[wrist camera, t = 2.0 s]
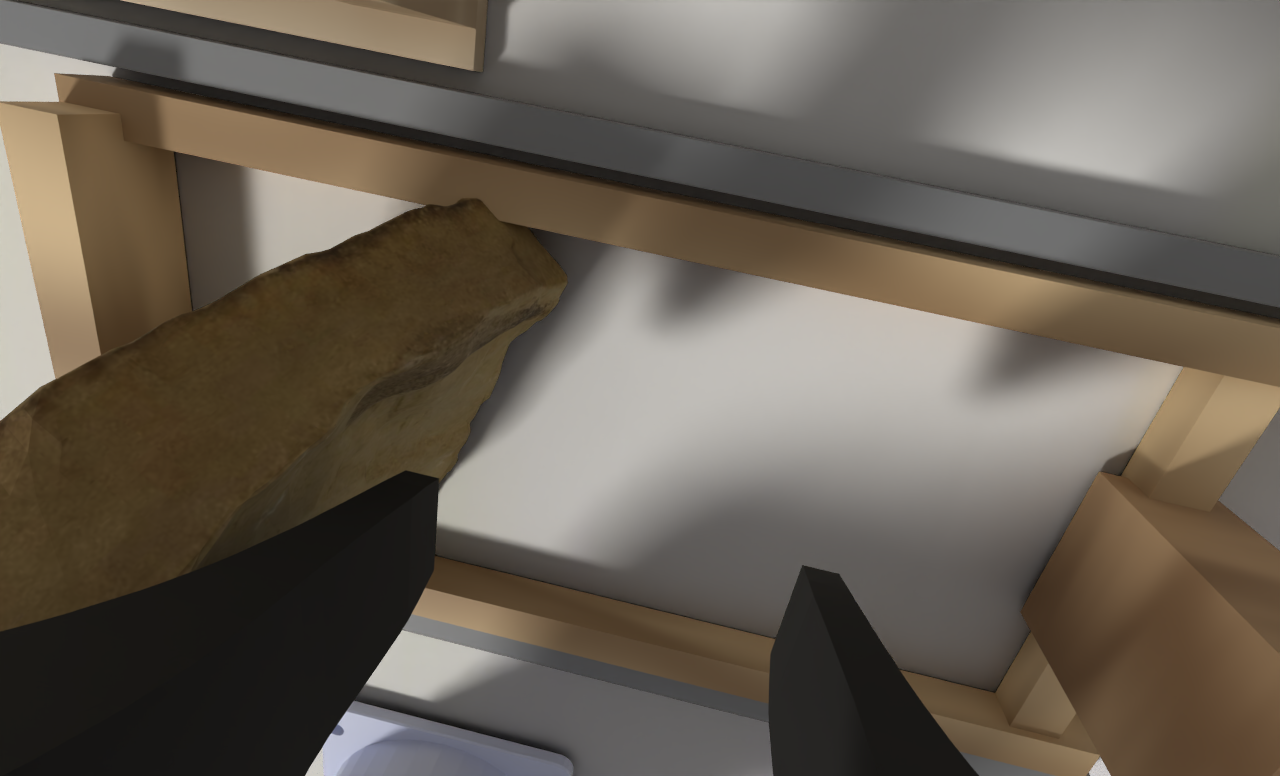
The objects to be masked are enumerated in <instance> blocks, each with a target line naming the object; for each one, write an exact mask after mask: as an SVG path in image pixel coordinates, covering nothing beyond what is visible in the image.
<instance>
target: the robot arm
mask: <svg viewBox="0 0 1280 776" xmlns="http://www.w3.org/2000/svg"><path fill="white" fill-rule="evenodd" d="M438 490H439V478H436V477H432V476H427V475H423V474H419V473H415V472H411V471H407V470H405V471H403V472H401V473H399V474H397V475H395V476H393V477H391V478H389V479H387V480H385V481H383V482H381V483H379V484H377V485H375V486H373V487H372V488H370V489H368V490H366V491H364V492H362V493H360V494H358V495H356V496H354V497H353V498H351V499H349V500H347V501H345V502H343V503H341V504H339V505H337V506H335V507H333V508H331V509H329V510H327V511H325V512H323V513H321V514H319V515H317V516H315V517H314V518H312V519H310V520H308V521H306V522H304V523H302V524H300V525H298V526H295V527H293V528H291V529H289V530H287V531H285V532H282V533H280V534H278V535H276V536H274V537H271V538H269V539H267V540H265V541H263V542H261V543H258V544H256V545H254V546H252V547H250V548H247V549H245V550H243V551H241V552H239V553H237V554H234V555H232V556H229V557H227V558H225V559H222V560H220V561H218V562H215V563H213V564H210V565H208V566H205V567H203V568H200V569H198V570H195V571H192V572H189V573H187V574H184V575H181V576H179V577H176V578H173V579H171V580H168V581H165V582H163V583H160V584H157V585H154V586H151V587H148V588H146V589H143V590H140V591H137V592H133V593H130V594H127V595H124V596H121V597H117V598H114V599H111V600H108V601H105V602H101V603H98V604H95V605H92V606H89V607H85V608H82V609H79V610H76V611H73V612H69V613H66V614H63V615H60V616H56V617H52V618H49V619H45V620H42V621H38V622H34V623H30V624H27V625H23V626H19V627H15V628H12V629H8V630H4V631H0V776H305V775H306V773H307V771H308V769H309V767H310V766H311V764H312V763H313V761H314V759H315V758H316V756H317V755H318V753H319V752H320V750H321V748H322V747H323V769H324V776H572V774H573V764H572V763H571V761H570V760H569V759H568V758H567V757H565V756H563V755H561V754H557V753H553V752H550V751H546V750H542V749H538V748H534V747H530V746H526V745H523V744H519V743H515V742H511V741H507V740H503V739H499V738H496V737H492V736H488V735H484V734H480V733H476V732H473V731H469V730H465V729H461V728H457V727H453V726H449V725H446V724H442V723H438V722H434V721H430V720H426V719H423V718H419V717H415V716H411V715H407V714H403V713H399V712H396V711H392V710H388V709H384V708H380V707H376V706H373V705H369V704H365V703H361V702H357V701H354V700H355V698H356V697H357V695H358V694H359V692H360V691H361V689H362V688H363V686H364V685H365V684H366V682H367V681H368V679H369V678H370V676H371V675H372V673H373V672H374V670H375V669H376V668H377V666H378V665H379V663H380V662H381V660H382V659H383V657H384V656H385V654H386V653H387V651H388V650H389V648H390V647H391V646H392V644H393V643H394V641H395V640H396V638H397V637H398V635H399V634H400V632H401V631H402V629H403V628H404V626H405V625H406V623H407V622H408V620H409V618H410V616H411V614H412V612H413V610H414V609H415V607H416V605H417V603H418V601H419V599H420V597H421V595H422V593H423V591H424V589H425V587H426V585H427V583H428V581H429V579H430V577H431V575H432V573H433V571H434V562H435V544H436V526H437V508H438ZM768 715H769V729H770V741H771V754H772V766H773V776H979V775H978V774H977V772H976V771H975V770H974V769H973V768H972V767H971V765H970V764H969V763H968V762H967V760H966V759H965V758H964V757H963V755H962V754H961V753H960V752H959V750H958V749H957V748H956V747H955V745H954V744H953V743H952V742H951V740H950V739H949V738H948V736H947V735H946V734H945V732H944V731H943V730H942V728H941V727H940V726H939V724H938V723H937V722H936V720H935V719H934V718H933V716H932V715H931V714H930V712H929V711H928V710H927V708H926V707H925V706H924V704H923V703H922V701H921V700H920V699H919V697H918V696H917V694H916V693H915V691H914V690H913V689H912V687H911V686H910V684H909V683H908V681H907V680H906V679H905V677H904V676H903V674H902V673H901V671H900V670H899V668H898V667H897V665H896V664H895V662H894V661H893V659H892V658H891V656H890V655H889V653H888V652H887V650H886V649H885V647H884V645H883V644H882V642H881V641H880V639H879V638H878V636H877V634H876V633H875V631H874V630H873V628H872V627H871V625H870V623H869V622H868V620H867V619H866V617H865V615H864V614H863V612H862V610H861V609H860V607H859V606H858V604H857V602H856V601H855V599H854V598H853V596H852V594H851V593H850V591H849V589H848V588H847V586H846V585H845V583H844V581H843V580H842V578H841V577H840V575H839V574H837V573H833V572H829V571H824V570H820V569H816V568H812V567H808V566H804V565H802V568H801V571H800V573H799V576H798V579H797V582H796V584H795V587H794V590H793V593H792V595H791V598H790V601H789V604H788V606H787V609H786V612H785V615H784V617H783V620H782V623H781V626H780V628H779V631H778V634H777V637H776V639H775V642H774V645H773V648H772V650H771V653H770V673H769V705H768Z"/></svg>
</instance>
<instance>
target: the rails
mask: <svg viewBox="0 0 1280 776" xmlns="http://www.w3.org/2000/svg"><path fill="white" fill-rule="evenodd" d="M0 43H1V44H6V45H11V46H16V47H21V48H26V49H30V50H35V51H40V52H45V53H50V54H55V55H59V56H64V57H69V58H74V59H79V60H84V61H88V62H93V63H98V64H103V65H108V66H113V67H118V68H122V69H127V70H132V71H137V72H142V73H147V74H151V75H156V76H161V77H166V78H171V79H176V80H180V81H185V82H190V83H195V84H200V85H205V86H210V87H214V88H219V89H224V90H229V91H234V92H239V93H243V94H248V95H253V96H258V97H263V98H268V99H272V100H277V101H282V102H287V103H292V104H297V105H301V106H306V107H311V108H316V109H321V110H326V111H331V112H335V113H340V114H345V115H350V116H355V117H360V118H364V119H369V120H374V121H379V122H384V123H389V124H393V125H398V126H403V127H408V128H413V129H418V130H423V131H427V132H432V133H437V134H442V135H447V136H452V137H456V138H461V139H466V140H471V141H476V142H481V143H485V144H490V145H495V146H500V147H505V148H510V149H515V150H519V151H524V152H529V153H534V154H539V155H544V156H548V157H553V158H558V159H563V160H568V161H573V162H577V163H582V164H587V165H592V166H597V167H602V168H606V169H611V170H616V171H621V172H626V173H631V174H636V175H640V176H645V177H650V178H655V179H660V180H665V181H669V182H674V183H679V184H684V185H689V186H694V187H698V188H703V189H708V190H713V191H718V192H723V193H728V194H732V195H737V196H742V197H747V198H752V199H757V200H761V201H766V202H771V203H776V204H781V205H786V206H790V207H795V208H800V209H805V210H810V211H815V212H819V213H824V214H829V215H834V216H839V217H844V218H849V219H853V220H858V221H863V222H868V223H873V224H878V225H882V226H887V227H892V228H897V229H902V230H907V231H911V232H916V233H921V234H926V235H931V236H936V237H941V238H945V239H950V240H955V241H960V242H965V243H970V244H974V245H979V246H984V247H989V248H994V249H999V250H1003V251H1008V252H1013V253H1018V254H1023V255H1028V256H1032V257H1037V258H1042V259H1047V260H1052V261H1057V262H1062V263H1066V264H1071V265H1076V266H1081V267H1086V268H1091V269H1095V270H1100V271H1105V272H1110V273H1115V274H1120V275H1124V276H1129V277H1134V278H1139V279H1144V280H1149V281H1154V282H1158V283H1163V284H1168V285H1173V286H1178V287H1183V288H1187V289H1192V290H1197V291H1202V292H1207V293H1212V294H1216V295H1221V296H1226V297H1231V298H1236V299H1241V300H1245V301H1250V302H1255V303H1260V304H1265V305H1270V306H1275V307H1279V308H1280V256H1278V255H1273V254H1268V253H1263V252H1258V251H1253V250H1248V249H1243V248H1238V247H1233V246H1229V245H1224V244H1219V243H1214V242H1209V241H1204V240H1199V239H1194V238H1189V237H1184V236H1179V235H1174V234H1169V233H1164V232H1159V231H1154V230H1149V229H1144V228H1140V227H1135V226H1130V225H1125V224H1120V223H1115V222H1110V221H1105V220H1100V219H1095V218H1090V217H1085V216H1080V215H1075V214H1070V213H1065V212H1060V211H1055V210H1050V209H1046V208H1041V207H1036V206H1031V205H1026V204H1021V203H1016V202H1011V201H1006V200H1001V199H996V198H991V197H986V196H981V195H976V194H971V193H966V192H961V191H957V190H952V189H947V188H942V187H937V186H932V185H927V184H922V183H917V182H912V181H907V180H902V179H897V178H892V177H887V176H882V175H877V174H872V173H868V172H863V171H858V170H853V169H848V168H843V167H838V166H833V165H828V164H823V163H818V162H813V161H808V160H803V159H798V158H793V157H788V156H783V155H779V154H774V153H769V152H764V151H759V150H754V149H749V148H744V147H739V146H734V145H729V144H724V143H719V142H714V141H709V140H704V139H699V138H694V137H689V136H685V135H680V134H675V133H670V132H665V131H660V130H655V129H650V128H645V127H640V126H635V125H630V124H625V123H620V122H615V121H610V120H605V119H600V118H596V117H591V116H586V115H581V114H576V113H571V112H566V111H561V110H556V109H551V108H546V107H541V106H536V105H531V104H526V103H521V102H516V101H511V100H507V99H502V98H497V97H492V96H487V95H482V94H477V93H472V92H467V91H462V90H457V89H452V88H447V87H442V86H437V85H432V84H427V83H422V82H418V81H413V80H408V79H403V78H398V77H393V76H388V75H383V74H378V73H373V72H368V71H363V70H358V69H353V68H348V67H343V66H338V65H333V64H328V63H324V62H319V61H314V60H309V59H304V58H299V57H294V56H289V55H284V54H279V53H274V52H269V51H264V50H259V49H254V48H249V47H244V46H239V45H235V44H230V43H225V42H220V41H215V40H210V39H205V38H200V37H195V36H190V35H185V34H180V33H175V32H170V31H165V30H160V29H155V28H150V27H146V26H141V25H136V24H131V23H126V22H121V21H116V20H111V19H106V18H101V17H96V16H91V15H86V14H81V13H76V12H71V11H66V10H61V9H57V8H52V7H47V6H42V5H37V4H32V3H27V2H22V1H17V0H0ZM402 630H404V631H408V632H412V633H416V634H420V635H424V636H428V637H432V638H436V639H440V640H444V641H448V642H452V643H456V644H459V645H463V646H467V647H471V648H475V649H479V650H483V651H487V652H491V653H495V654H499V655H503V656H507V657H511V658H515V659H519V660H523V661H527V662H531V663H535V664H539V665H543V666H547V667H551V668H555V669H559V670H563V671H566V672H570V673H574V674H578V675H582V676H586V677H590V678H594V679H598V680H602V681H606V682H610V683H614V684H618V685H622V686H626V687H630V688H634V689H638V690H642V691H646V692H650V693H654V694H658V695H662V696H666V697H670V698H673V699H677V700H681V701H685V702H689V703H693V704H697V705H701V706H705V707H709V708H713V709H717V710H721V711H725V712H729V713H733V714H737V715H741V716H745V717H749V718H753V719H757V720H761V721H765V722H769V715H768V705H769V704H768V703H764V702H760V701H756V700H752V699H748V698H744V697H740V696H736V695H732V694H728V693H724V692H720V691H716V690H712V689H708V688H704V687H700V686H696V685H692V684H688V683H684V682H680V681H676V680H672V679H668V678H664V677H660V676H656V675H652V674H648V673H644V672H640V671H636V670H632V669H628V668H624V667H620V666H616V665H612V664H608V663H604V662H600V661H596V660H592V659H588V658H584V657H580V656H576V655H573V654H569V653H565V652H561V651H557V650H553V649H549V648H545V647H541V646H537V645H533V644H529V643H525V642H521V641H517V640H513V639H509V638H505V637H501V636H497V635H493V634H489V633H485V632H481V631H477V630H473V629H469V628H465V627H461V626H457V625H453V624H449V623H445V622H441V621H437V620H433V619H429V618H425V617H421V616H417V615H413V614H411V616H410V618H409V620H408V622H407V623H406V625H405V626H404V628H403V629H402ZM960 753H961V754H962V755H963V757H964V758H965V759H966V760H967V762H968V763H969V764H970V765H971V767H972V768H973V769H974V770H975V771H976V772H977V774H978V775H979V776H1055V775H1051V774H1047V773H1043V772H1039V771H1035V770H1031V769H1027V768H1023V767H1019V766H1015V765H1011V764H1007V763H1003V762H999V761H995V760H991V759H987V758H983V757H979V756H975V755H971V754H967V753H963V752H960ZM1086 776H1090V775H1089V773H1088V774H1087V775H1086Z"/></svg>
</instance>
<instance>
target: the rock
mask: <svg viewBox="0 0 1280 776" xmlns="http://www.w3.org/2000/svg"><path fill="white" fill-rule="evenodd" d="M567 283H568V280H567V275H566V274H565V272H564V271H563V270H562V268H561V267H560V265H559V264H558V263H557V262H556V261H555V260H554V259H553V258H552V256H551V255H550V254H549V253H548V252H547V251H546V249H545V248H544V247H543V246H542V245H541V244H540V243H539V242H538V240H537V239H536V238H535V236H534V235H533V233H532V232H531V231H530V229H529V228H528V227H526V226H522V225H517V224H512V223H508V222H503V221H499V220H498V219H497V218H496V217H495V216H494V214H493V213H492V212H491V211H490V210H489V209H488V208H487V206H486V205H485V204H484V203H483V201H481V200H480V199H478V198H461V199H460V200H458V201H457V202H456V203H455V204H453V205H449V206H441V205H434V204H428V205H426V206H425V207H423V208H418V209H413V210H410V211H407V212H405V213H403V214H401V215H399V216H397V217H395V218H393V219H391V220H389V221H387V222H385V223H383V224H381V225H379V226H377V227H375V228H373V229H372V230H370V231H367V232H364V233H361V234H358V235H355V236H353V237H351V238H349V239H347V240H346V241H344V242H342V243H340V244H338V245H337V246H335V247H333V248H331V249H329V250H325V251H322V252H316V253H310V254H305V255H303V256H301V257H298V258H296V259H294V260H292V261H289V262H287V263H285V264H283V265H281V266H278V267H276V268H274V269H271V270H269V271H267V272H264V273H262V274H260V275H259V276H257V277H255V278H253V279H252V280H250V281H248V282H247V283H245V284H244V285H242V286H240V287H239V288H237V289H235V290H234V291H232V292H230V293H228V294H227V295H225V296H224V297H222V298H221V299H219V300H217V301H215V302H213V303H211V304H208V305H206V306H204V307H202V308H200V309H197V310H194V311H192V312H188V313H184V314H181V315H178V316H176V317H174V318H172V319H170V320H168V321H165V322H164V323H162V324H160V325H159V326H157V327H156V328H154V329H152V330H151V331H149V332H147V333H146V334H144V335H142V336H141V337H139V338H137V339H136V340H134V341H132V342H130V343H127V344H125V345H122V346H119V347H116V348H114V349H111V350H109V351H108V352H106V353H104V354H102V355H100V356H98V357H96V358H94V359H92V360H91V361H89V362H87V363H85V364H83V365H81V366H79V367H78V368H76V369H74V370H72V371H70V372H68V373H66V374H64V375H63V376H61V377H59V378H57V379H55V380H53V381H51V382H49V383H47V384H45V385H44V386H42V387H40V388H39V389H38V390H36V391H35V392H34V393H33V394H32V395H30V396H29V397H28V398H27V399H26V400H25V401H23V402H22V403H21V404H20V405H19V406H18V407H16V408H15V409H14V410H13V411H12V412H10V413H9V414H8V415H7V416H6V417H5V418H3V419H2V420H1V421H0V631H4V630H8V629H12V628H15V627H19V626H23V625H27V624H30V623H34V622H38V621H42V620H45V619H49V618H52V617H56V616H60V615H63V614H66V613H69V612H73V611H76V610H79V609H82V608H85V607H89V606H92V605H95V604H98V603H101V602H105V601H108V600H111V599H114V598H117V597H121V596H124V595H127V594H130V593H133V592H137V591H140V590H143V589H146V588H148V587H151V586H154V585H157V584H160V583H163V582H165V581H168V580H171V579H173V578H176V577H179V576H181V575H184V574H187V573H189V572H192V571H195V570H198V569H200V568H203V567H205V566H208V565H210V564H213V563H215V562H218V561H220V560H222V559H225V558H227V557H229V556H232V555H234V554H237V553H239V552H241V551H243V550H245V549H247V548H250V547H252V546H254V545H256V544H258V543H261V542H263V541H265V540H267V539H269V538H271V537H274V536H276V535H278V534H280V533H282V532H285V531H287V530H289V529H291V528H293V527H295V526H298V525H300V524H302V523H304V522H306V521H308V520H310V519H312V518H314V517H315V516H317V515H319V514H321V513H323V512H325V511H327V510H329V509H331V508H333V507H335V506H337V505H339V504H341V503H343V502H345V501H347V500H349V499H351V498H353V497H354V496H356V495H358V494H360V493H362V492H364V491H366V490H368V489H370V488H372V487H373V486H375V485H377V484H379V483H381V482H383V481H385V480H387V479H389V478H391V477H393V476H395V475H397V474H399V473H401V472H403V471H405V470H407V471H411V472H415V473H419V474H423V475H427V476H432V477H436V478H439V483H440V481H441V480H442V479H443V478H444V477H445V475H446V474H447V472H450V471H451V469H452V468H453V467H454V465H455V464H456V462H457V461H458V453H459V451H460V450H461V448H462V446H463V445H464V444H465V443H466V441H467V439H468V436H469V434H470V422H471V421H472V420H473V418H474V417H475V415H476V413H477V412H478V409H479V407H480V405H481V404H482V403H483V402H484V401H486V400H487V399H489V398H490V396H491V393H492V391H493V389H494V386H495V384H496V382H497V380H498V378H499V375H500V371H501V367H502V363H503V360H504V357H505V354H506V352H507V349H508V347H509V345H510V342H511V341H513V340H514V339H515V338H516V337H517V336H519V335H520V334H522V333H524V332H526V331H527V330H528V329H529V328H530V327H531V326H532V325H533V324H535V323H536V322H537V321H540V320H542V319H543V318H544V317H546V316H547V315H548V314H549V313H550V312H551V311H552V310H553V309H554V307H555V306H556V305H557V304H558V302H559V297H560V295H561V294H562V292H563V290H564V289H565V287H566V285H567Z"/></svg>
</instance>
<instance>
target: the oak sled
mask: <svg viewBox="0 0 1280 776" xmlns="http://www.w3.org/2000/svg"><path fill="white" fill-rule="evenodd" d="M54 75H55V80H56V86H57V91H58V97H59V102H0V126H1V131H2V135H3V140H4V145H5V149H6V154H7V158H8V163H9V167H10V172H11V177H12V181H13V186H14V190H15V195H16V200H17V204H18V209H19V213H20V218H21V222H22V227H23V232H24V236H25V241H26V245H27V250H28V255H29V259H30V264H31V268H32V273H33V277H34V282H35V287H36V291H37V296H38V300H39V305H40V310H41V314H42V319H43V323H44V328H45V333H46V337H47V342H48V346H49V351H50V355H51V360H52V365H53V369H54V374H55V378H56V379H57V378H59V377H61V376H63V375H64V374H66V373H68V372H70V371H72V370H74V369H76V368H78V367H79V366H81V365H83V364H85V363H87V362H89V361H91V360H92V359H94V358H96V357H98V356H100V355H102V354H104V353H106V352H108V351H109V350H111V349H114V348H116V347H119V346H122V345H125V344H127V343H130V342H132V341H134V340H136V339H137V338H139V337H141V336H142V335H144V334H146V333H147V332H149V331H151V330H152V329H154V328H156V327H157V326H159V325H160V324H162V323H164V322H165V321H168V320H170V319H172V318H174V317H176V316H178V315H181V314H184V313H188V312H192V306H191V297H190V288H189V280H188V271H187V262H186V254H185V245H184V236H183V228H182V219H181V210H180V202H179V193H178V184H177V176H176V167H175V158H174V151H175V152H179V153H184V154H189V155H194V156H198V157H203V158H208V159H212V160H217V161H222V162H226V163H231V164H236V165H240V166H245V167H250V168H255V169H259V170H264V171H269V172H273V173H278V174H283V175H287V176H292V177H297V178H301V179H306V180H311V181H315V182H320V183H325V184H330V185H334V186H339V187H344V188H348V189H353V190H358V191H362V192H367V193H372V194H376V195H381V196H386V197H390V198H395V199H400V200H405V201H409V202H414V203H419V204H423V205H428V204H434V205H441V206H449V205H453V204H455V203H456V202H457V201H458V200H460V199H461V198H478V199H480V200H481V201H483V203H484V204H485V205H486V206H487V208H488V209H489V210H490V211H491V212H492V213H493V214H494V216H495V217H496V218H497V219H498V220H499V221H503V222H508V223H512V224H517V225H522V226H526V227H531V228H536V229H541V230H545V231H550V232H555V233H559V234H564V235H569V236H573V237H578V238H583V239H587V240H592V241H597V242H601V243H606V244H611V245H616V246H620V247H625V248H630V249H634V250H639V251H644V252H648V253H653V254H658V255H662V256H667V257H672V258H677V259H681V260H686V261H691V262H695V263H700V264H705V265H709V266H714V267H719V268H723V269H728V270H733V271H737V272H742V273H747V274H752V275H756V276H761V277H766V278H770V279H775V280H780V281H784V282H789V283H794V284H798V285H803V286H808V287H812V288H817V289H822V290H827V291H831V292H836V293H841V294H845V295H850V296H855V297H859V298H864V299H869V300H873V301H878V302H883V303H888V304H892V305H897V306H902V307H906V308H911V309H916V310H920V311H925V312H930V313H934V314H939V315H944V316H948V317H953V318H958V319H963V320H967V321H972V322H977V323H981V324H986V325H991V326H995V327H1000V328H1005V329H1009V330H1014V331H1019V332H1023V333H1028V334H1033V335H1038V336H1042V337H1047V338H1052V339H1056V340H1061V341H1066V342H1070V343H1075V344H1080V345H1084V346H1089V347H1094V348H1099V349H1103V350H1108V351H1113V352H1117V353H1122V354H1127V355H1131V356H1136V357H1141V358H1145V359H1150V360H1155V361H1159V362H1164V363H1169V364H1174V365H1178V366H1183V367H1184V368H1183V370H1182V371H1181V373H1180V375H1179V376H1178V378H1177V380H1176V382H1175V383H1174V385H1173V387H1172V389H1171V390H1170V392H1169V394H1168V395H1167V397H1166V399H1165V401H1164V402H1163V404H1162V406H1161V408H1160V409H1159V411H1158V413H1157V414H1156V416H1155V418H1154V420H1153V421H1152V423H1151V425H1150V426H1149V428H1148V430H1147V432H1146V433H1145V435H1144V437H1143V439H1142V440H1141V442H1140V444H1139V445H1138V447H1137V449H1136V451H1135V452H1134V454H1133V456H1132V458H1131V459H1130V461H1129V463H1128V464H1127V466H1126V468H1125V470H1124V471H1123V473H1122V475H1121V476H1117V475H1113V474H1108V473H1104V472H1098V474H1097V476H1096V478H1095V479H1094V481H1093V483H1092V485H1091V487H1090V488H1089V490H1088V492H1087V494H1086V496H1085V497H1084V499H1083V501H1082V503H1081V504H1080V506H1079V508H1078V510H1077V512H1076V513H1075V515H1074V517H1073V519H1072V521H1071V522H1070V524H1069V526H1068V528H1067V529H1066V531H1065V533H1064V535H1063V537H1062V538H1061V540H1060V542H1059V544H1058V545H1057V547H1056V549H1055V551H1054V553H1053V554H1052V556H1051V558H1050V560H1049V562H1048V563H1047V565H1046V567H1045V569H1044V570H1043V572H1042V574H1041V576H1040V578H1039V579H1038V581H1037V583H1036V585H1035V586H1034V588H1033V590H1032V592H1031V594H1030V595H1029V597H1028V599H1027V601H1026V603H1025V604H1024V606H1023V608H1022V610H1021V611H1020V612H1021V614H1022V616H1023V618H1024V620H1025V621H1026V623H1027V625H1028V627H1029V629H1030V630H1031V632H1030V634H1029V635H1028V637H1027V639H1026V641H1025V642H1024V644H1023V646H1022V647H1021V649H1020V651H1019V653H1018V654H1017V656H1016V658H1015V659H1014V661H1013V663H1012V665H1011V666H1010V668H1009V670H1008V672H1007V673H1006V675H1005V677H1004V678H1003V680H1002V682H1001V684H1000V685H999V687H998V689H997V691H996V692H995V693H993V692H989V691H985V690H981V689H977V688H973V687H969V686H964V685H960V684H956V683H952V682H948V681H944V680H940V679H936V678H932V677H928V676H924V675H920V674H915V673H911V672H907V671H903V670H900V671H901V673H902V674H903V676H904V677H905V679H906V680H907V681H908V683H909V684H910V686H911V687H912V689H913V690H914V691H915V693H916V694H917V696H918V697H919V699H920V700H921V701H922V703H923V704H924V706H925V707H926V708H927V710H928V711H929V712H930V714H931V715H932V716H933V718H934V719H935V720H936V722H937V723H938V724H939V726H940V727H941V728H942V730H943V731H944V732H945V734H946V735H947V736H948V738H949V739H950V740H951V742H952V743H953V744H954V745H955V747H956V748H957V749H958V750H959V752H963V753H967V754H971V755H975V756H979V757H983V758H987V759H991V760H995V761H999V762H1003V763H1007V764H1011V765H1015V766H1019V767H1023V768H1027V769H1031V770H1035V771H1039V772H1043V773H1047V774H1051V775H1055V776H1086V775H1087V774H1088V772H1089V771H1090V770H1091V768H1092V767H1093V765H1094V764H1095V763H1096V761H1097V760H1098V758H1099V757H1101V758H1102V760H1103V762H1104V764H1105V766H1106V767H1107V769H1108V771H1109V773H1110V775H1111V776H1280V551H1279V550H1278V549H1277V548H1275V547H1274V546H1273V545H1272V544H1271V543H1269V542H1268V541H1267V540H1266V539H1264V538H1263V537H1262V536H1261V535H1260V534H1258V533H1257V532H1256V531H1255V530H1253V529H1252V528H1251V527H1250V526H1249V525H1247V524H1246V523H1245V522H1244V521H1243V520H1241V519H1240V518H1239V517H1238V516H1236V515H1235V514H1234V513H1233V512H1232V511H1230V510H1229V509H1228V508H1227V507H1225V506H1224V505H1223V504H1222V503H1221V502H1219V501H1218V499H1219V498H1220V496H1221V495H1222V493H1223V492H1224V490H1225V489H1226V487H1227V486H1228V484H1229V483H1230V481H1231V480H1232V478H1233V477H1234V475H1235V474H1236V472H1237V471H1238V469H1239V468H1240V466H1241V465H1242V463H1243V462H1244V460H1245V459H1246V457H1247V456H1248V454H1249V453H1250V451H1251V450H1252V448H1253V447H1254V445H1255V444H1256V442H1257V441H1258V439H1259V438H1260V436H1261V435H1262V433H1263V432H1264V430H1265V429H1266V427H1267V426H1268V424H1269V423H1270V421H1271V420H1272V418H1273V417H1274V415H1275V414H1276V412H1277V411H1278V409H1279V408H1280V319H1277V318H1272V317H1267V316H1262V315H1257V314H1253V313H1248V312H1243V311H1238V310H1233V309H1228V308H1224V307H1219V306H1214V305H1209V304H1204V303H1200V302H1195V301H1190V300H1185V299H1180V298H1175V297H1171V296H1166V295H1161V294H1156V293H1151V292H1147V291H1142V290H1137V289H1132V288H1127V287H1122V286H1118V285H1113V284H1108V283H1103V282H1098V281H1094V280H1089V279H1084V278H1079V277H1074V276H1069V275H1065V274H1060V273H1055V272H1050V271H1045V270H1041V269H1036V268H1031V267H1026V266H1021V265H1016V264H1012V263H1007V262H1002V261H997V260H992V259H988V258H983V257H978V256H973V255H968V254H963V253H959V252H954V251H949V250H944V249H939V248H935V247H930V246H925V245H920V244H915V243H910V242H906V241H901V240H896V239H891V238H886V237H882V236H877V235H872V234H867V233H862V232H857V231H853V230H848V229H843V228H838V227H833V226H829V225H824V224H819V223H814V222H809V221H804V220H800V219H795V218H790V217H785V216H780V215H776V214H771V213H766V212H761V211H756V210H751V209H747V208H742V207H737V206H732V205H727V204H723V203H718V202H713V201H708V200H703V199H698V198H694V197H689V196H684V195H679V194H674V193H670V192H665V191H660V190H655V189H650V188H645V187H641V186H636V185H631V184H626V183H621V182H616V181H612V180H607V179H602V178H597V177H592V176H588V175H583V174H578V173H573V172H568V171H563V170H559V169H554V168H549V167H544V166H539V165H535V164H530V163H525V162H520V161H515V160H510V159H506V158H501V157H496V156H491V155H486V154H482V153H477V152H472V151H467V150H462V149H457V148H453V147H448V146H443V145H438V144H433V143H429V142H424V141H419V140H414V139H409V138H404V137H400V136H395V135H390V134H385V133H380V132H376V131H371V130H366V129H361V128H356V127H351V126H347V125H342V124H337V123H332V122H327V121H323V120H318V119H313V118H308V117H303V116H298V115H294V114H289V113H284V112H279V111H274V110H270V109H265V108H260V107H255V106H250V105H245V104H241V103H236V102H231V101H226V100H221V99H217V98H212V97H207V96H202V95H197V94H192V93H188V92H183V91H178V90H173V89H168V88H164V87H159V86H154V85H149V84H144V83H139V82H135V81H130V80H125V79H120V78H115V77H111V76H96V75H76V74H56V73H54ZM412 614H413V615H417V616H421V617H425V618H429V619H433V620H437V621H441V622H445V623H449V624H453V625H457V626H461V627H465V628H469V629H473V630H477V631H481V632H485V633H489V634H493V635H497V636H501V637H505V638H509V639H513V640H517V641H521V642H525V643H529V644H533V645H537V646H541V647H545V648H549V649H553V650H557V651H561V652H565V653H569V654H573V655H576V656H580V657H584V658H588V659H592V660H596V661H600V662H604V663H608V664H612V665H616V666H620V667H624V668H628V669H632V670H636V671H640V672H644V673H648V674H652V675H656V676H660V677H664V678H668V679H672V680H676V681H680V682H684V683H688V684H692V685H696V686H700V687H704V688H708V689H712V690H716V691H720V692H724V693H728V694H732V695H736V696H740V697H744V698H748V699H752V700H756V701H760V702H764V703H768V704H769V673H770V653H771V650H772V648H773V645H774V642H775V639H772V638H768V637H764V636H760V635H756V634H752V633H748V632H744V631H740V630H736V629H732V628H728V627H723V626H719V625H715V624H711V623H707V622H703V621H699V620H695V619H691V618H687V617H683V616H679V615H674V614H670V613H666V612H662V611H658V610H654V609H650V608H646V607H642V606H638V605H634V604H630V603H625V602H621V601H617V600H613V599H609V598H605V597H601V596H597V595H593V594H589V593H585V592H581V591H576V590H572V589H568V588H564V587H560V586H556V585H552V584H548V583H544V582H540V581H536V580H532V579H527V578H523V577H519V576H515V575H511V574H507V573H503V572H499V571H495V570H491V569H487V568H483V567H478V566H474V565H470V564H466V563H462V562H458V561H454V560H450V559H446V558H442V557H438V556H435V562H434V571H433V573H432V575H431V577H430V579H429V581H428V583H427V585H426V587H425V589H424V591H423V593H422V595H421V597H420V599H419V601H418V603H417V605H416V607H415V609H414V610H413V612H412Z"/></svg>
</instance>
